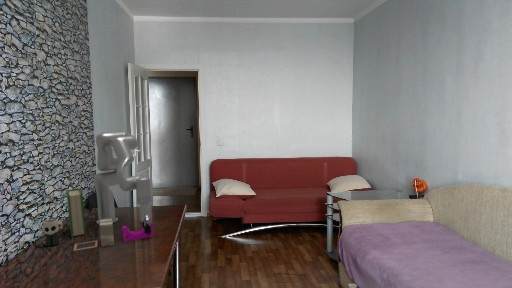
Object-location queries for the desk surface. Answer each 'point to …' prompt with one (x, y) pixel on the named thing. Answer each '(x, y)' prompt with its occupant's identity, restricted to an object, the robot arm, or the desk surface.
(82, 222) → the hardback book
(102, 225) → the tunnel
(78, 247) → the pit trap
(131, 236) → the toy block
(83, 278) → the desk surface
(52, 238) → the character mug
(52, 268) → the desk surface
